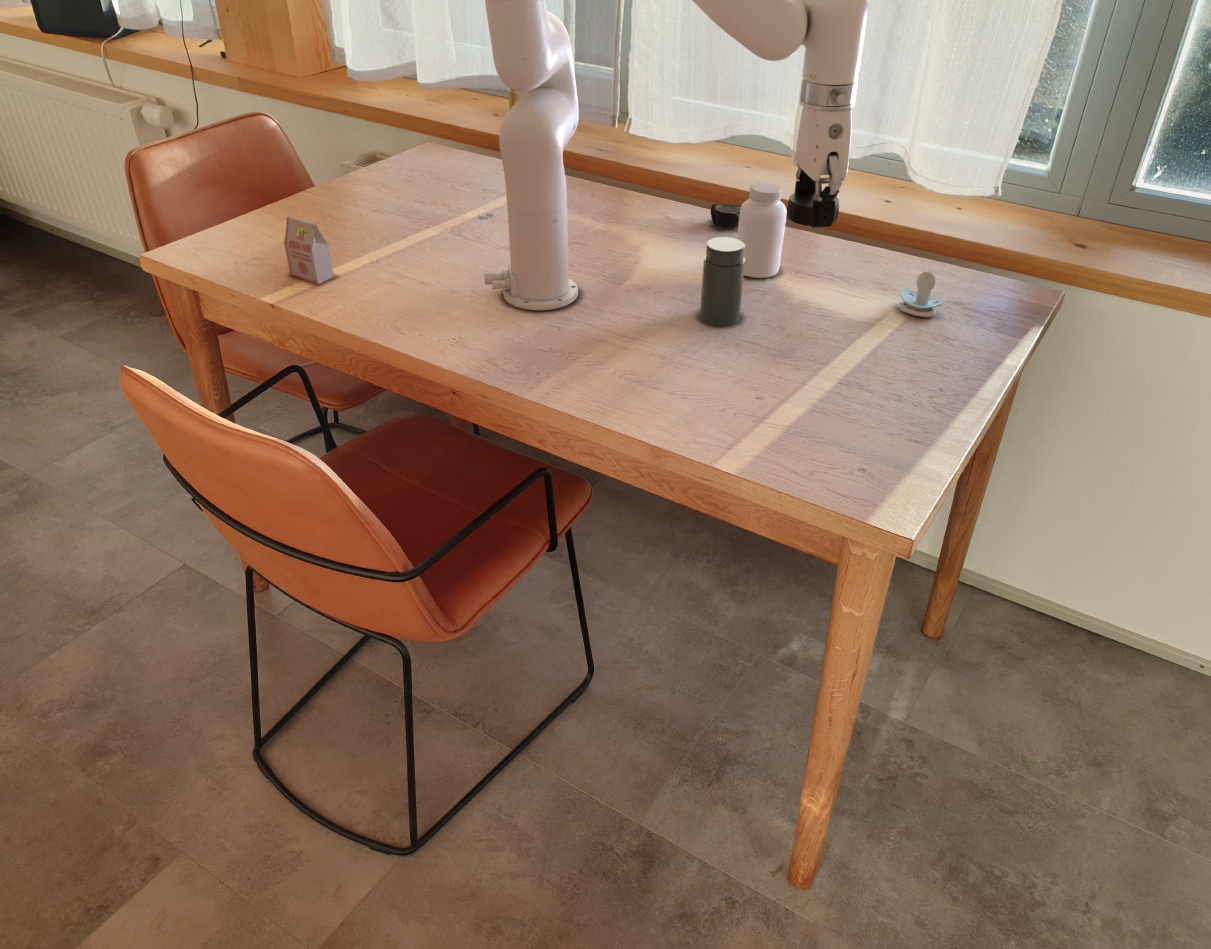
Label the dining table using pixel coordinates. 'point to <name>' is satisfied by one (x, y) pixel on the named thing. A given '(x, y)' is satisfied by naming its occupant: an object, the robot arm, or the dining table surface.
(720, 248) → the jar
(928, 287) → the pacifier
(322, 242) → the white snack box
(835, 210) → the lid
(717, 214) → the tape measure
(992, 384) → the dining table surface
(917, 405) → the dining table surface
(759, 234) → the pill bottle
